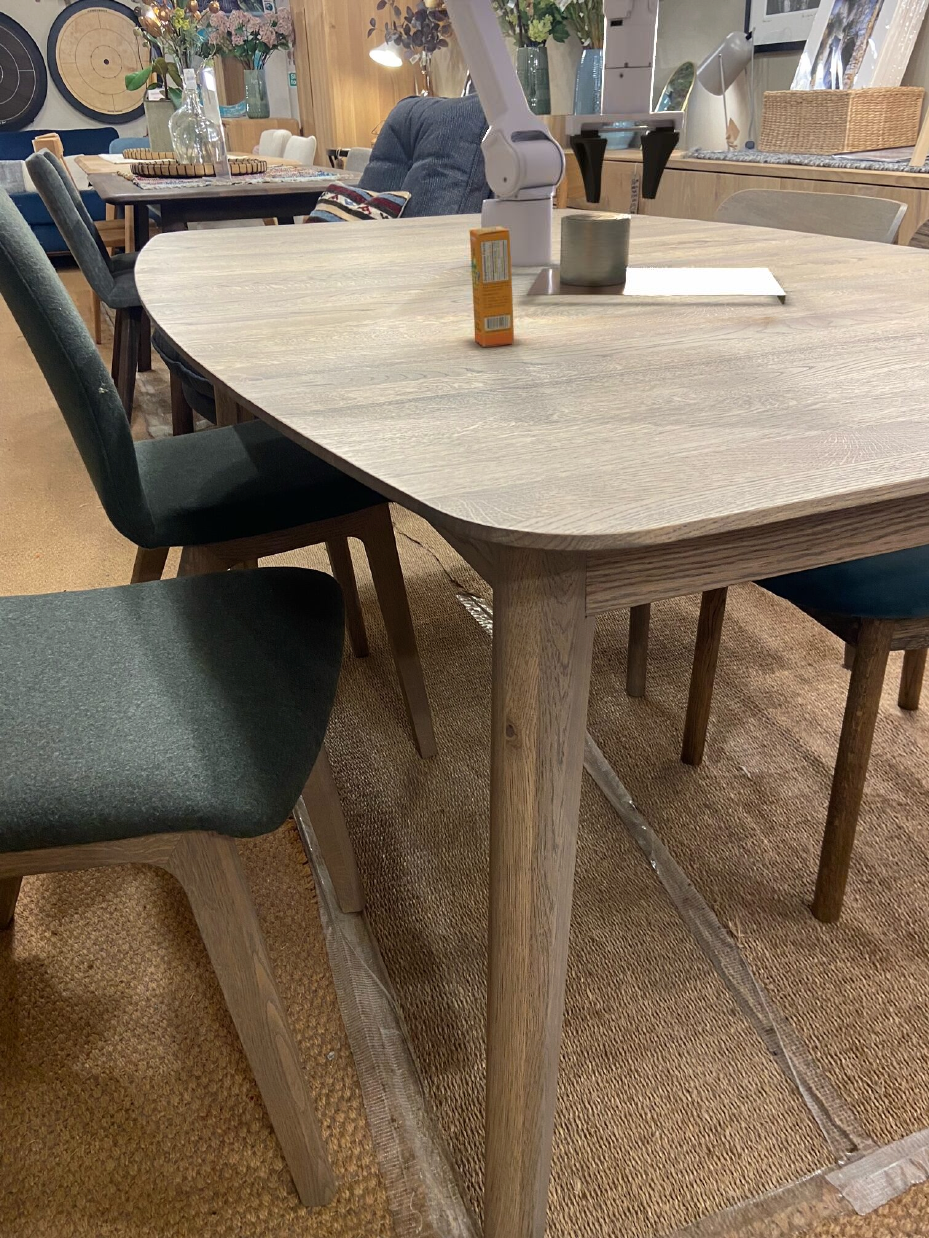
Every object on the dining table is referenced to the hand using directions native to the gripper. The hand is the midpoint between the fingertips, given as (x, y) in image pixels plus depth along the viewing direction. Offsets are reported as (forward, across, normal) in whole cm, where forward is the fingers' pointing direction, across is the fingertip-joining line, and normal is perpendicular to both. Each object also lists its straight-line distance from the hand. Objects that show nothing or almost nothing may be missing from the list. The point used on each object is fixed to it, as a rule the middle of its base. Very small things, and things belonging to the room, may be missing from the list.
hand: (621, 200), depth 107 cm
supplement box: (+9, -27, -24) cm, 37 cm away
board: (+9, 0, -8) cm, 12 cm away
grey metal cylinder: (+8, -6, -4) cm, 11 cm away
